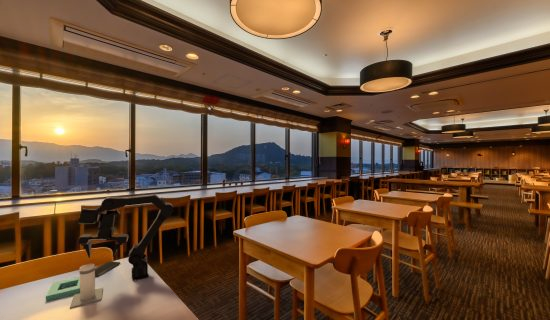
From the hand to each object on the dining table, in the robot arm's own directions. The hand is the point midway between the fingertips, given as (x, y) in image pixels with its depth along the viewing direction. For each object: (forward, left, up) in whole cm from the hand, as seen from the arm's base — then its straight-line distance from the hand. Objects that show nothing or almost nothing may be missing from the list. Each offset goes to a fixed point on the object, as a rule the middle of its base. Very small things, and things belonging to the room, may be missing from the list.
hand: (101, 257), depth 109 cm
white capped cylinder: (+4, +10, -12) cm, 16 cm away
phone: (0, -17, -14) cm, 22 cm away
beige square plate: (+4, +10, -13) cm, 17 cm away
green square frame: (+12, -3, -13) cm, 18 cm away
